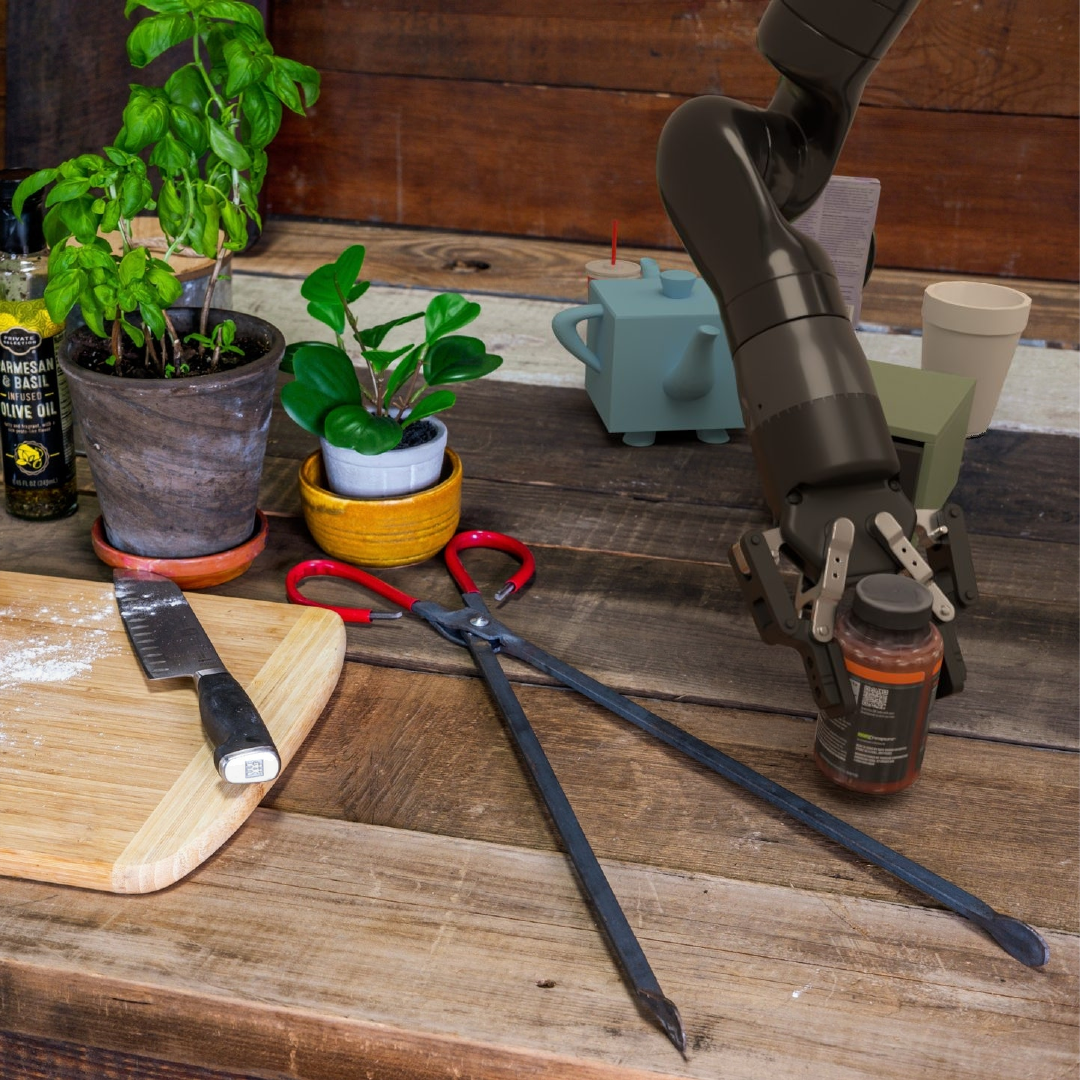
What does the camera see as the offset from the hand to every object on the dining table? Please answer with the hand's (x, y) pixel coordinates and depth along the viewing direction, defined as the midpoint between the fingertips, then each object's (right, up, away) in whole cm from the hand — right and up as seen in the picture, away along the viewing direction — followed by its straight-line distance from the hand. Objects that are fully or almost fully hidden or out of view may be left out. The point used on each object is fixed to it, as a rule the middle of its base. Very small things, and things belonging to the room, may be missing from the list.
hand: (897, 704), depth 67 cm
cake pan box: (+10, +34, +84) cm, 91 cm away
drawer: (+6, +11, +35) cm, 38 cm away
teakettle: (-6, +20, +54) cm, 57 cm away
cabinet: (+8, +12, +40) cm, 42 cm away
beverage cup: (-11, +30, +75) cm, 81 cm away
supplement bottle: (-1, -4, +4) cm, 6 cm away
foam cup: (+21, +20, +55) cm, 62 cm away
